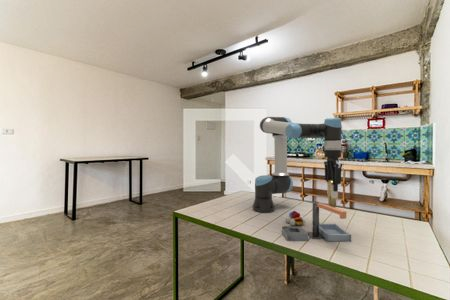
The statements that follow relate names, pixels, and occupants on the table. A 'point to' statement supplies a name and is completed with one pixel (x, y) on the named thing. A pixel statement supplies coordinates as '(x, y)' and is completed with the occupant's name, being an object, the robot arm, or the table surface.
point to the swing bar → (331, 209)
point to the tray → (334, 233)
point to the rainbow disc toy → (295, 218)
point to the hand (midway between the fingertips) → (332, 196)
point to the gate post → (315, 225)
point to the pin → (330, 200)
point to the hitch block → (294, 233)
